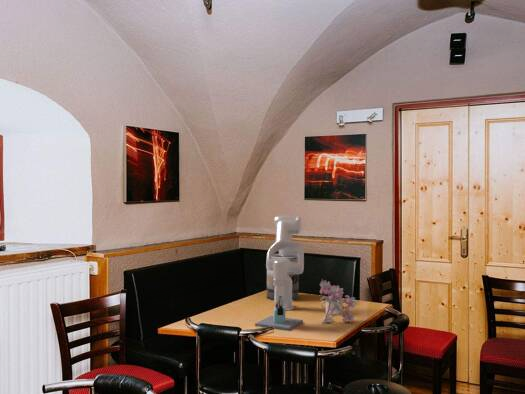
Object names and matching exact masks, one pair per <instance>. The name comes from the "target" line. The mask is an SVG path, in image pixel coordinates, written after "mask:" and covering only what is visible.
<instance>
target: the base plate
mask: <svg viewBox="0 0 525 394" xmlns="http://www.w3.org/2000/svg"><path fill="white" fill-rule="evenodd" d="M303 323H304V321H303V319H298V318H289V317H285V323H274V315H270V316H268V317H266V318H263V319H261V320H259V321H258V322H255V324H254V325H255V327H258V326H260V327H259V328H265V327H269V326H271V327H274V329H273V330H281V331H287V332H289V331H291V330H293V329H294V328H296V327H298V326H299V325H301V324H303Z"/></svg>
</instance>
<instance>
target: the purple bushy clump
mask: <svg viewBox="0 0 525 394" xmlns="http://www.w3.org/2000/svg"><path fill="white" fill-rule="evenodd" d="M330 296H331V295H329V296H328V297H330ZM330 299H331V298H330ZM326 301H327V299H324V300H322V301H321V302H320V307H321V308H322V309H323V310H325V314H327V311H328V307H329V302H326ZM333 301H334V300H333ZM334 302H335V301H334ZM323 303H325V307H324V306H323ZM333 306H334V305H333V303H332V302H331V304H330V308H333ZM335 310H336V313H337V312H338V311H337V307H336V309H335ZM331 311H332V310H329V313H328V315H329V314H330V313H331ZM333 315H335V313H334V311H333V312H332V314H331V315H330V316H333ZM335 316H336V315H335Z"/></svg>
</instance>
